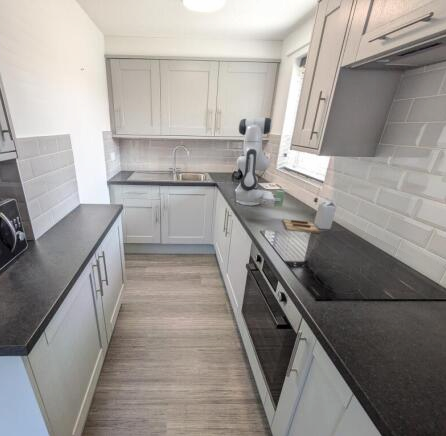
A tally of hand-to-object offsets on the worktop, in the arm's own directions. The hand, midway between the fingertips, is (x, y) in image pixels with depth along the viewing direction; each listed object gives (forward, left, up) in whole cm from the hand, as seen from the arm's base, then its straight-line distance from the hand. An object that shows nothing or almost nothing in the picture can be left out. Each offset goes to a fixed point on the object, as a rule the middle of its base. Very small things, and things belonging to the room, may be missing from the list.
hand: (280, 198), depth 153 cm
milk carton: (+4, +27, -16) cm, 32 cm away
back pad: (0, -1, -5) cm, 5 cm away
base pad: (+8, +13, -16) cm, 22 cm away
